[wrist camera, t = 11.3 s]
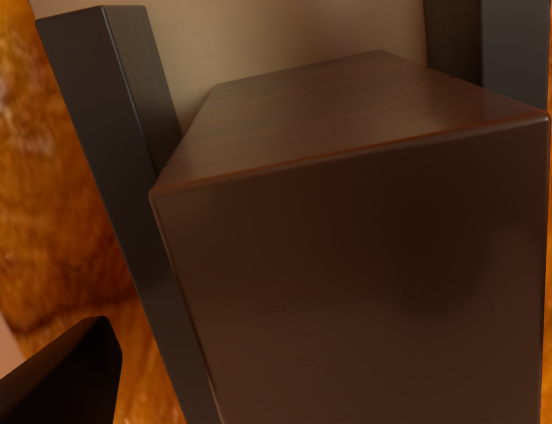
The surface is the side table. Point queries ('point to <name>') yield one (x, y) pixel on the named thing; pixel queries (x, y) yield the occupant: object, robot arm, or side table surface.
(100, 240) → the side table surface
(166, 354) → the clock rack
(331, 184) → the dark brown block
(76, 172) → the side table surface
